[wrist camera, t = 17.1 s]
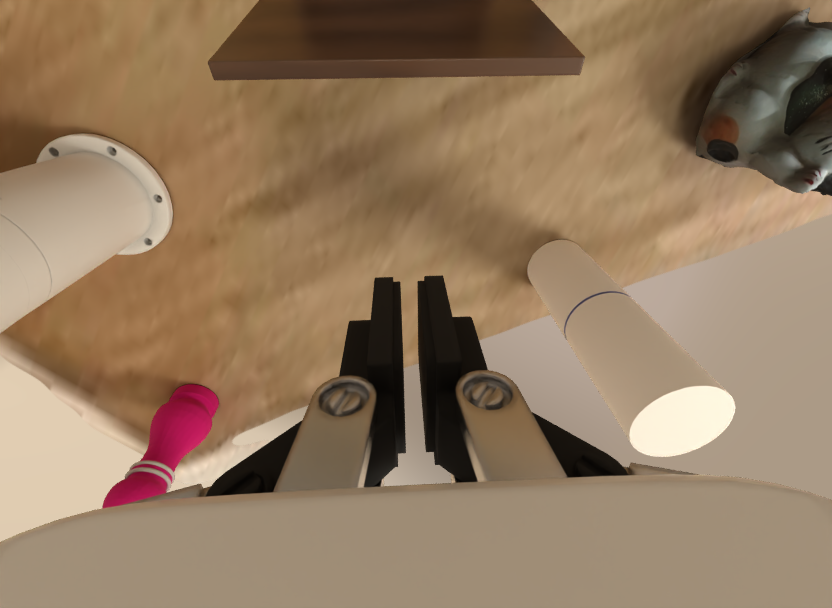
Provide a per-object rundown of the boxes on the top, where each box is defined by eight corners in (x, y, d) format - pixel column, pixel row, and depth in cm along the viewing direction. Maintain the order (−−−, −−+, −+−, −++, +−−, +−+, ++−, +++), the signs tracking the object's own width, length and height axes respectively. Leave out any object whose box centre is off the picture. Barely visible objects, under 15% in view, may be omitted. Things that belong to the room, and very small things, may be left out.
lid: (206, 61, 15) (214, 80, 16) (585, 56, 16) (580, 75, 16) (285, -32, 27) (287, -19, 28) (501, -34, 28) (499, -21, 28)
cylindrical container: (560, 227, 46) (703, 368, 25) (596, 262, 49) (753, 417, 27) (515, 270, 49) (609, 430, 27) (551, 301, 51) (663, 468, 30)
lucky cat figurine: (836, -16, 35) (1059, 21, 27) (772, 110, 44) (921, 165, 36) (701, 65, 34) (889, 129, 26) (666, 175, 44) (794, 248, 35)
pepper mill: (230, 395, 57) (161, 535, 40) (210, 423, 60) (137, 565, 43) (182, 373, 55) (85, 512, 38) (162, 403, 57) (65, 546, 40)
